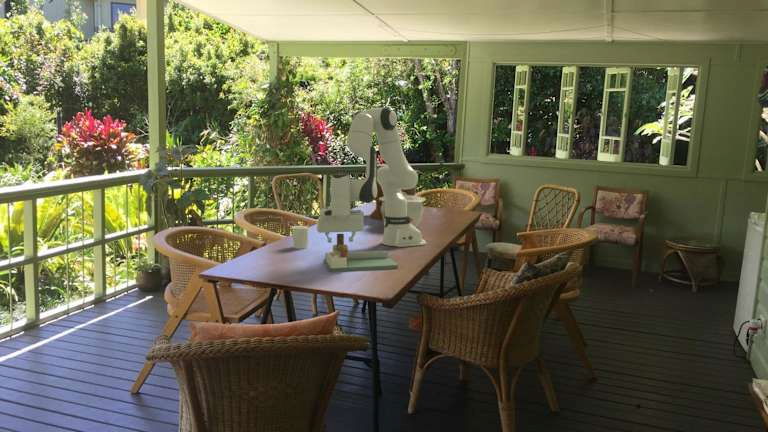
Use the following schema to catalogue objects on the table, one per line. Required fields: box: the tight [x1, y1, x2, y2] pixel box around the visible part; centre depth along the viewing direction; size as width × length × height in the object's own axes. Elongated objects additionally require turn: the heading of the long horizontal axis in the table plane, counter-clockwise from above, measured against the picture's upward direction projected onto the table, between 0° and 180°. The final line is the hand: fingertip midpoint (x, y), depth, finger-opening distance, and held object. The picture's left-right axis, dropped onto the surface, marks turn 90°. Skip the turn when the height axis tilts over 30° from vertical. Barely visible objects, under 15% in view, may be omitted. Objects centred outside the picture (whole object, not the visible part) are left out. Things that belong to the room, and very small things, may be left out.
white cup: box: [291, 225, 310, 250], centre depth 305 cm, size 8×8×10 cm
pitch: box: [323, 251, 399, 273], centre depth 270 cm, size 29×17×6 cm, turn 105°
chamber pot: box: [379, 192, 427, 228], centre depth 362 cm, size 28×28×21 cm
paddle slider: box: [332, 233, 349, 258], centre depth 269 cm, size 6×13×11 cm, turn 15°
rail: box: [324, 250, 389, 261], centre depth 276 cm, size 28×2×3 cm, turn 105°
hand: (340, 241), depth 273 cm, fingers open, 8 cm apart
